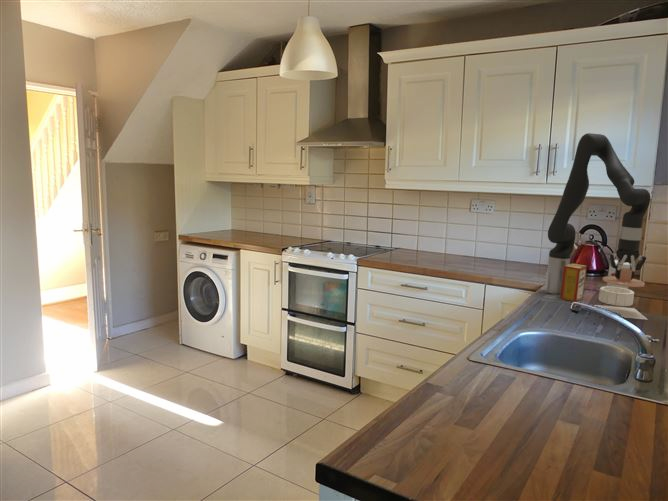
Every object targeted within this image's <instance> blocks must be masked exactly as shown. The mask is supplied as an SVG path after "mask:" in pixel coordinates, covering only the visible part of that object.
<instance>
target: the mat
mask: <svg viewBox="0 0 668 501" xmlns="http://www.w3.org/2000/svg"><path fill="white" fill-rule="evenodd" d="M593 306H594V307H595V306H598V307H601V308H604V309H607V310H610V311H612V312H617V313H620V314H621V316H622V317H621V318H623V317H624V319H625V318H626V319H636V320H646V321H647V320H648V321H649V318H647V317H646V316H645V315H643V314H642V313H641V312H639V311H638V310H637V309H636V308H634V307H625V306H613V305H599V304H594V305H593Z"/></svg>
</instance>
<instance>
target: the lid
mask: <svg viewBox="0 0 668 501" xmlns="http://www.w3.org/2000/svg"><path fill="white" fill-rule="evenodd" d="M631 276H632V270H631V269H630V268H621V269H620V277H619V279H617V278H616V277H615V276H608V275H607V276H606V275H605V276H603V277H602V281H603V282H604V283H606V284H607V283H610V284H614V285H619V286H625V287H629V288H642V287H645V285H646V283H645V282H644V281H643V280H640V279H636V278H633V279H632V280H631Z"/></svg>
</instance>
